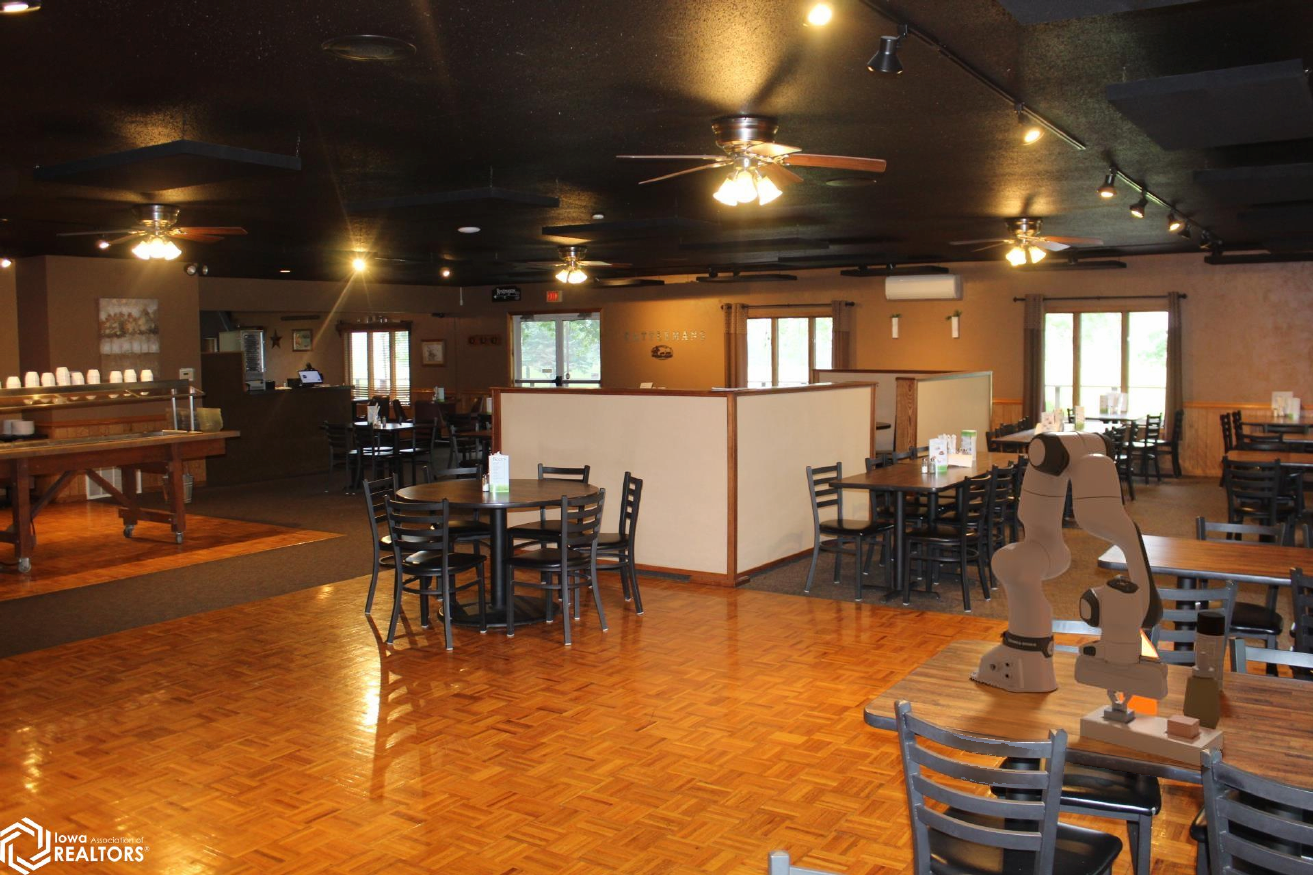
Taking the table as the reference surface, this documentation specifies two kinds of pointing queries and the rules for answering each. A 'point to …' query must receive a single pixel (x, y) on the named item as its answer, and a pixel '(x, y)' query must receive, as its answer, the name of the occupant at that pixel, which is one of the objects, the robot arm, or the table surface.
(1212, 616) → the spray can
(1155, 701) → the orange juice
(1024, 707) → the table surface
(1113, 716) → the slate key
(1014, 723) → the table surface
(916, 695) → the table surface
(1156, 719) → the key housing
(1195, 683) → the squeeze bottle
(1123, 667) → the robot arm
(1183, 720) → the terracotta key
